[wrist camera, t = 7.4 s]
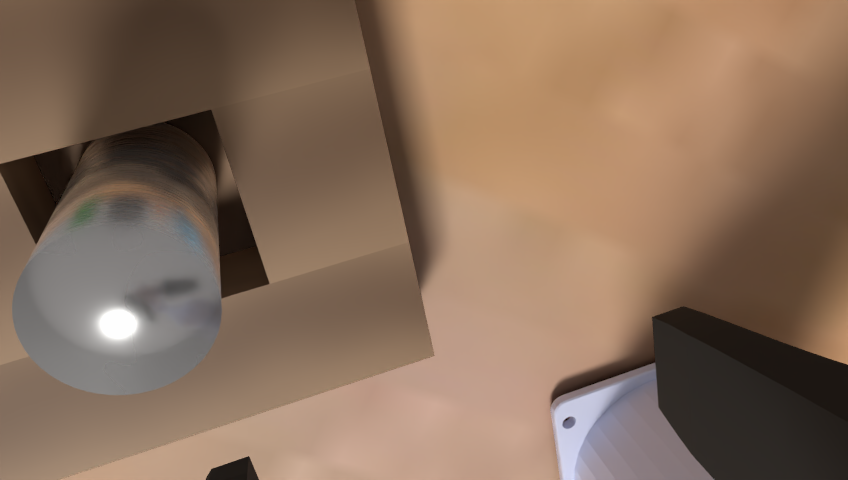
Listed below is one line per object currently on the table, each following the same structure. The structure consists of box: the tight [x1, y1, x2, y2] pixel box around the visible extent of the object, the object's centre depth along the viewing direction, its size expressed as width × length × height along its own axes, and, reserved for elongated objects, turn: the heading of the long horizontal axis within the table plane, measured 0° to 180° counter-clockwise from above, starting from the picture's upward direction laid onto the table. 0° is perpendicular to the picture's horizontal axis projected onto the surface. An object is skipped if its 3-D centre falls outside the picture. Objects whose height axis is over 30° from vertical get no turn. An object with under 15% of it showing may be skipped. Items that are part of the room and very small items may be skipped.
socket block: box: [0, 0, 434, 480], centre depth 18 cm, size 12×12×2 cm
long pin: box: [12, 122, 222, 395], centre depth 16 cm, size 3×3×7 cm
